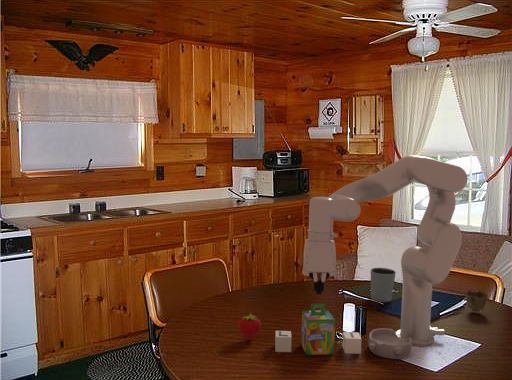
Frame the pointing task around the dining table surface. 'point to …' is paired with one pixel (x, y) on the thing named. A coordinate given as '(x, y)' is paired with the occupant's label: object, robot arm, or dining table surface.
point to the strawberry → (249, 326)
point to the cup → (476, 301)
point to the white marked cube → (283, 341)
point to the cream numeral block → (352, 342)
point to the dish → (389, 344)
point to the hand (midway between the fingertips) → (318, 292)
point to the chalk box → (318, 331)
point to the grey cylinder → (382, 284)
